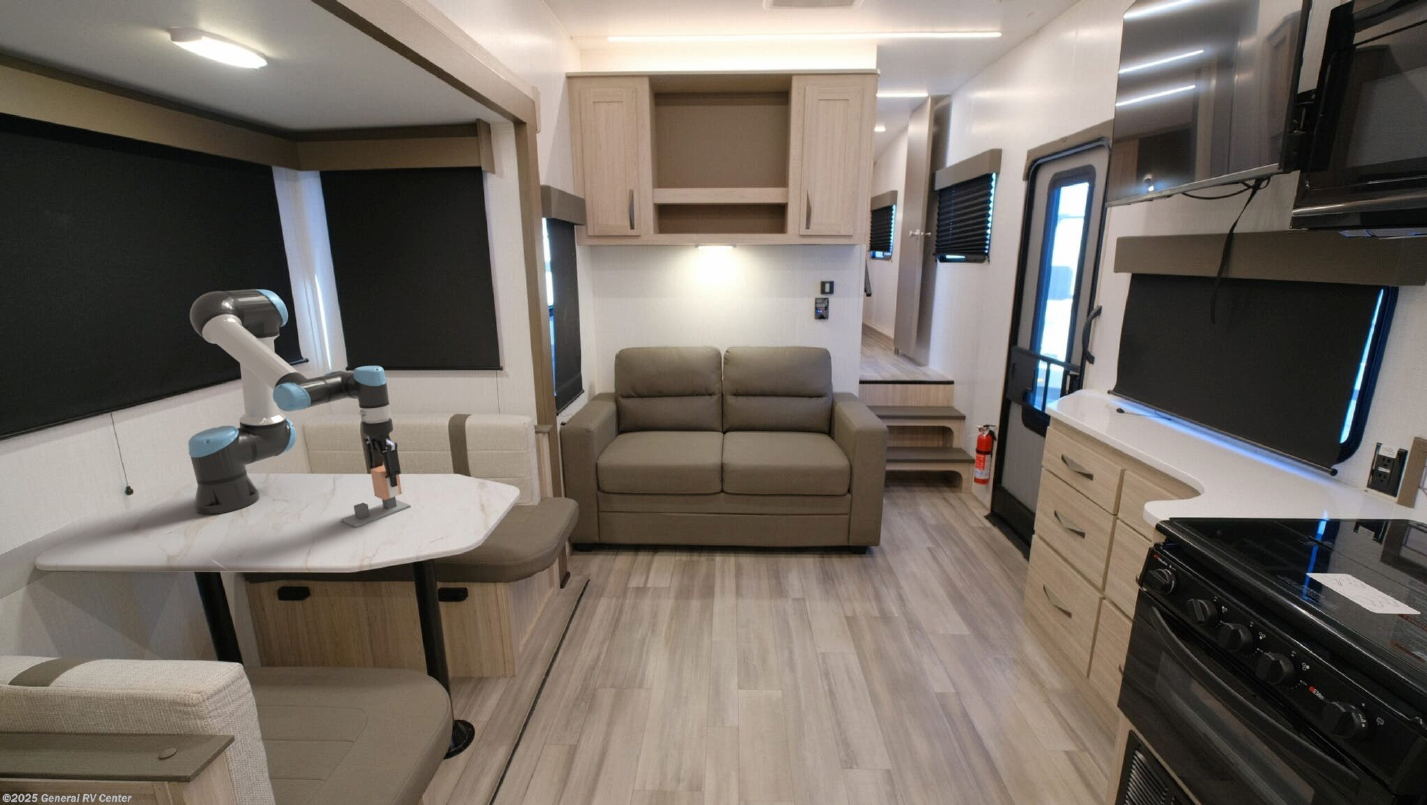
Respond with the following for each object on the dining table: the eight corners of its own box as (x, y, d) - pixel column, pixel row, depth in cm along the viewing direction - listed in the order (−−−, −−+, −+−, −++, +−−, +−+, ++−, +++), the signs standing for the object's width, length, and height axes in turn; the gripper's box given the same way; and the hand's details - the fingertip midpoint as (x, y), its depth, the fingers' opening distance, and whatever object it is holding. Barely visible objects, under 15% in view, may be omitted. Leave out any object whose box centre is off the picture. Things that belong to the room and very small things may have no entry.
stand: (341, 520, 164) (336, 491, 161) (395, 501, 177) (391, 474, 174) (356, 527, 159) (351, 498, 157) (410, 506, 173) (406, 479, 170)
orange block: (374, 496, 169) (370, 469, 167) (392, 490, 174) (388, 463, 171) (384, 500, 167) (380, 472, 165) (401, 493, 171) (397, 467, 169)
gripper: (346, 418, 166) (359, 492, 172) (381, 427, 157) (393, 505, 162) (372, 412, 172) (384, 484, 178) (407, 421, 163) (418, 496, 169)
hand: (388, 494), depth 170 cm, fingers closed on orange block, 5 cm apart
